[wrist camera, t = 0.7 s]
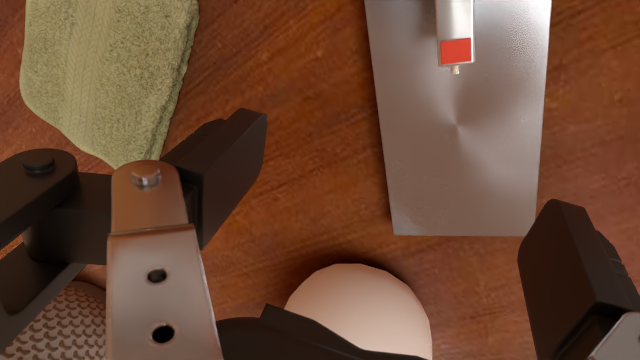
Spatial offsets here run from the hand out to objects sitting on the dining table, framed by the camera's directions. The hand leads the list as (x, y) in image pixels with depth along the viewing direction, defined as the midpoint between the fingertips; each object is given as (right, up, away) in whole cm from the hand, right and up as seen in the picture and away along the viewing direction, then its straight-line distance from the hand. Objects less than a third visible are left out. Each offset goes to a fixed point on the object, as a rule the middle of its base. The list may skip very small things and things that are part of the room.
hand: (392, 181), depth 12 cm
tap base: (+7, +7, +15) cm, 18 cm away
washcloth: (-19, +10, +22) cm, 30 cm away
